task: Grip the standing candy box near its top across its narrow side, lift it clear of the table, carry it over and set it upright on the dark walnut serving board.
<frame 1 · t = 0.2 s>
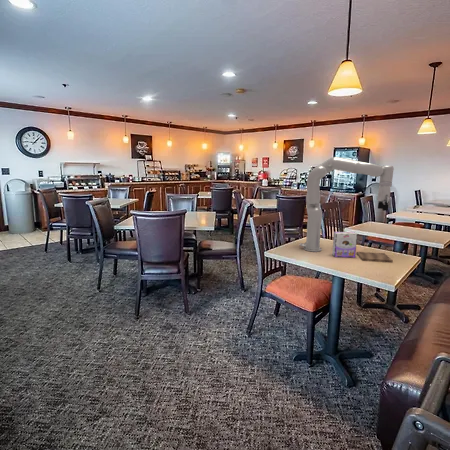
hand: (382, 209, 204), 31 cm above the table, fingers open, 9 cm apart
candy box: (343, 256, 202), on the table
serving board: (373, 257, 199), on the table
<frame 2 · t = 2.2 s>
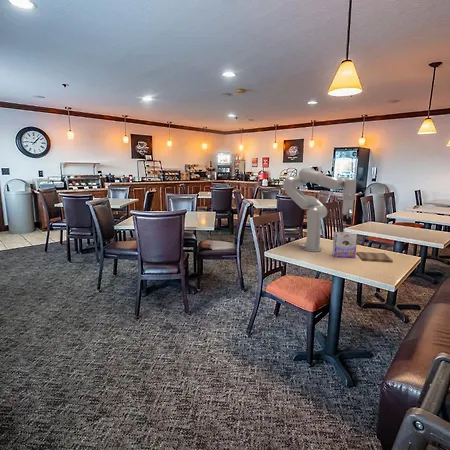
hand: (346, 223, 197), 23 cm above the table, fingers open, 9 cm apart
nothing on the table moved.
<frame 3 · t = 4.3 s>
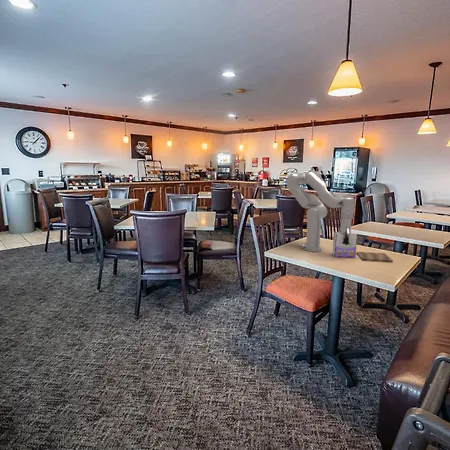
hand: (344, 242, 200), 10 cm above the table, fingers closed on candy box, 6 cm apart
candy box: (343, 256, 202), on the table, touching gripper
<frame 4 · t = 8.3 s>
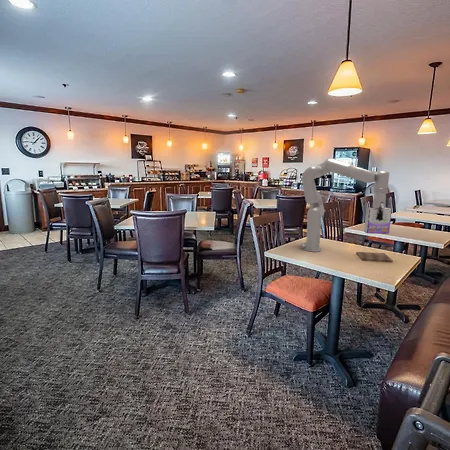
hand: (377, 218, 194), 27 cm above the table, fingers closed on candy box, 6 cm apart
candy box: (376, 233, 195), point 17 cm above the table, touching gripper
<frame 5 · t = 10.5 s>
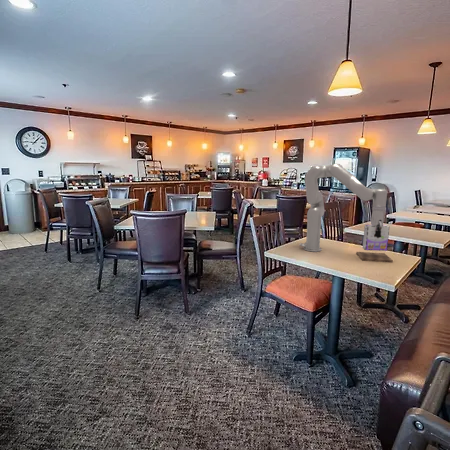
hand: (376, 235, 196), 15 cm above the table, fingers closed on candy box, 6 cm apart
candy box: (374, 249, 198), point 6 cm above the table, touching gripper
when the fingers open (12 cm above the table, at t = 12.4 s): candy box stays where it is, resting on serving board.
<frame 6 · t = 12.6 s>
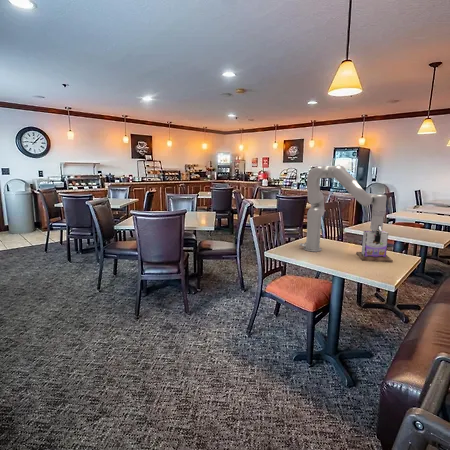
hand: (375, 239, 196), 12 cm above the table, fingers open, 7 cm apart
candy box: (373, 255, 199), point 1 cm above the table, touching serving board
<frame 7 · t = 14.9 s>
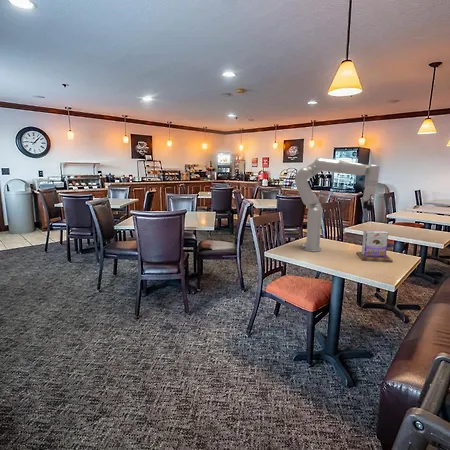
hand: (367, 209, 199), 32 cm above the table, fingers open, 9 cm apart
nothing on the table moved.
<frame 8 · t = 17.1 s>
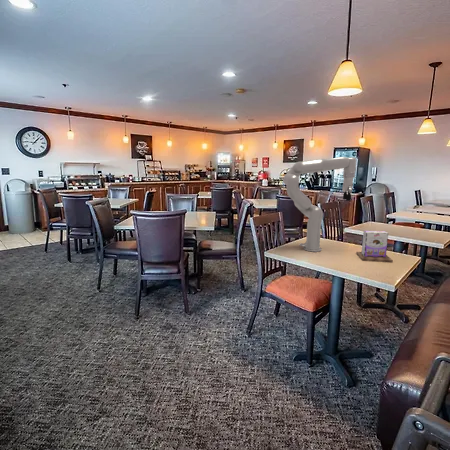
hand: (346, 199, 213), 36 cm above the table, fingers open, 9 cm apart
nothing on the table moved.
at the end: candy box inside the target area on the serving board (0.4 cm from its centre), point 1.3 cm above the serving board's base; candy box tilted 0°; the gripper is holding nothing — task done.
